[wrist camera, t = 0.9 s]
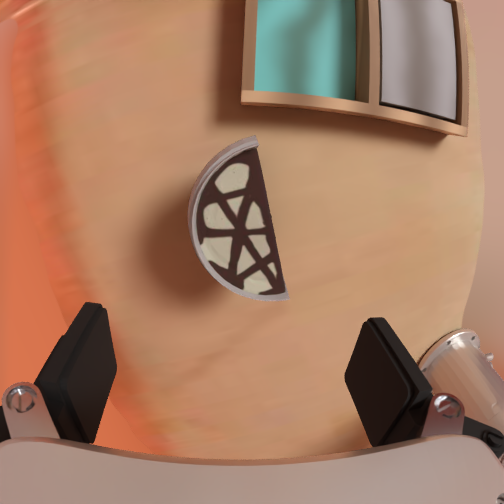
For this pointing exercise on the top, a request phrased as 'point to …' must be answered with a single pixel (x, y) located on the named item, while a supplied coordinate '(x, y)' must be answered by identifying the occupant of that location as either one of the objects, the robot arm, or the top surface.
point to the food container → (236, 224)
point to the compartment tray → (360, 59)
